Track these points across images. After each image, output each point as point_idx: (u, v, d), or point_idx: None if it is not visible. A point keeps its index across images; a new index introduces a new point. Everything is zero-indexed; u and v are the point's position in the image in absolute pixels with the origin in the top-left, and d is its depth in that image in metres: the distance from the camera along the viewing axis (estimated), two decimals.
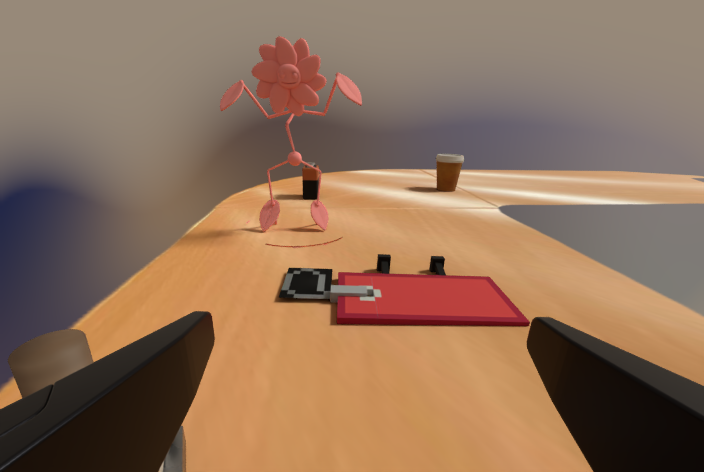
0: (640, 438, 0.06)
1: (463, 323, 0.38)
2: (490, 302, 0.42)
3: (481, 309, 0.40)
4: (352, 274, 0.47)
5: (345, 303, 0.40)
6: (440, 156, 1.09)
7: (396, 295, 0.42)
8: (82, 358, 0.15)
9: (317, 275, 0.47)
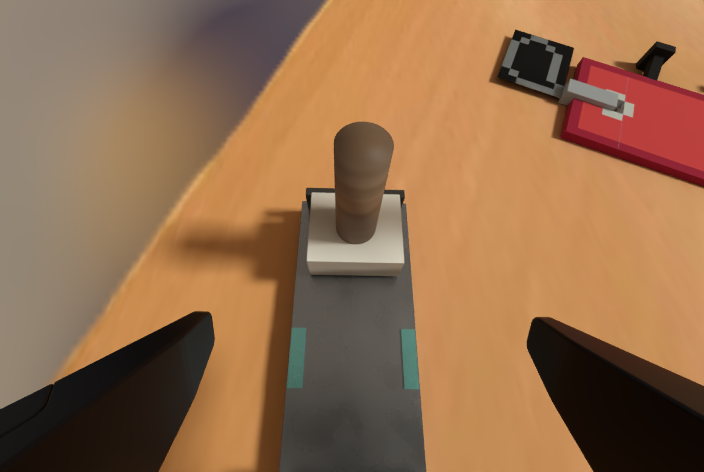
0: (640, 438, 0.06)
1: None
2: None
3: None
4: (602, 66, 0.34)
5: (581, 113, 0.31)
6: None
7: (654, 121, 0.31)
8: (389, 163, 0.14)
9: (551, 53, 0.35)
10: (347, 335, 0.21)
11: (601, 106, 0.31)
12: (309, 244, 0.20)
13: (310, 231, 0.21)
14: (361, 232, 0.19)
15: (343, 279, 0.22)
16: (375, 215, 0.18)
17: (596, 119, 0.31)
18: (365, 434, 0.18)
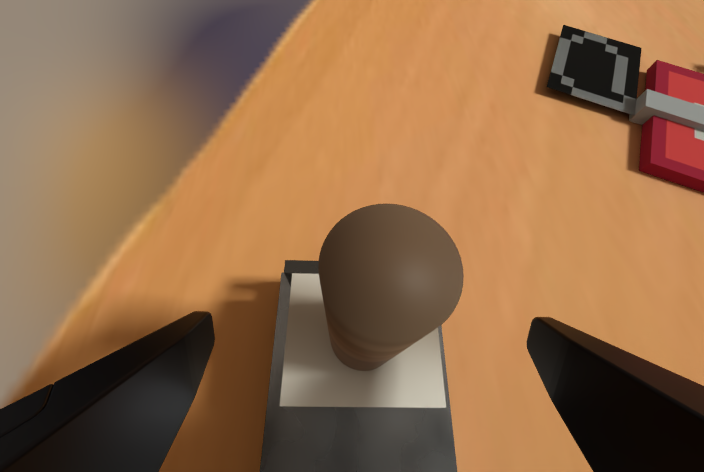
0: (640, 438, 0.06)
1: None
2: None
3: None
4: (683, 72, 0.26)
5: (666, 136, 0.23)
6: None
7: None
8: None
9: (613, 55, 0.27)
10: None
11: (692, 127, 0.23)
12: (285, 372, 0.12)
13: (287, 346, 0.12)
14: (374, 366, 0.11)
15: (342, 409, 0.14)
16: None
17: (688, 145, 0.22)
18: None
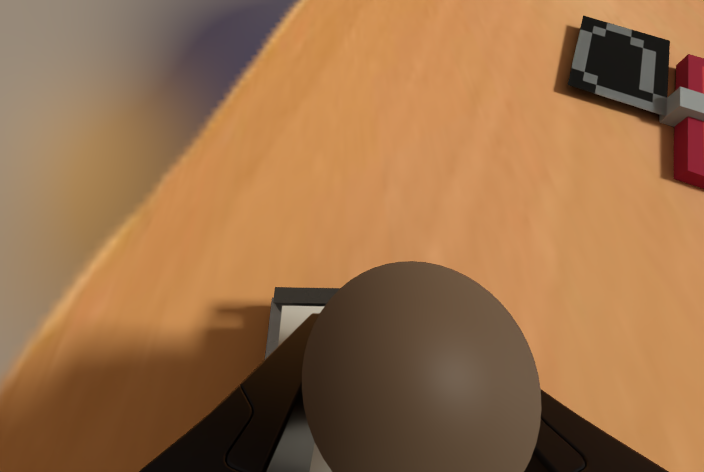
0: None
1: None
2: None
3: None
4: None
5: None
6: None
7: None
8: None
9: (639, 48, 0.24)
10: None
11: None
12: None
13: None
14: None
15: None
16: None
17: None
18: None
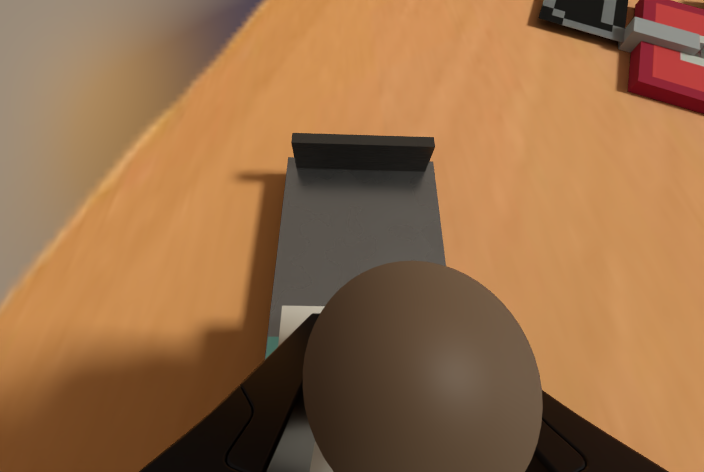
0: None
1: None
2: None
3: None
4: (670, 4, 0.26)
5: (653, 58, 0.23)
6: None
7: None
8: None
9: None
10: None
11: (678, 50, 0.24)
12: None
13: None
14: None
15: (346, 265, 0.15)
16: None
17: (674, 66, 0.23)
18: None
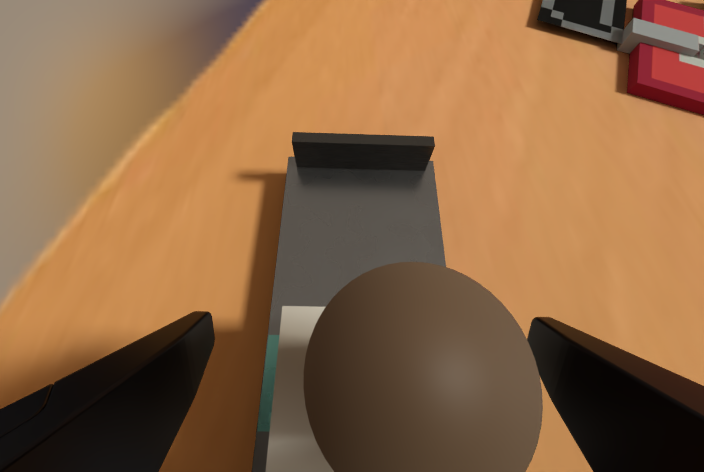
0: (640, 438, 0.06)
1: None
2: None
3: None
4: (668, 5, 0.26)
5: (652, 60, 0.23)
6: None
7: None
8: None
9: None
10: None
11: (677, 51, 0.24)
12: (272, 432, 0.10)
13: (276, 399, 0.10)
14: None
15: (346, 263, 0.15)
16: None
17: (673, 67, 0.23)
18: None
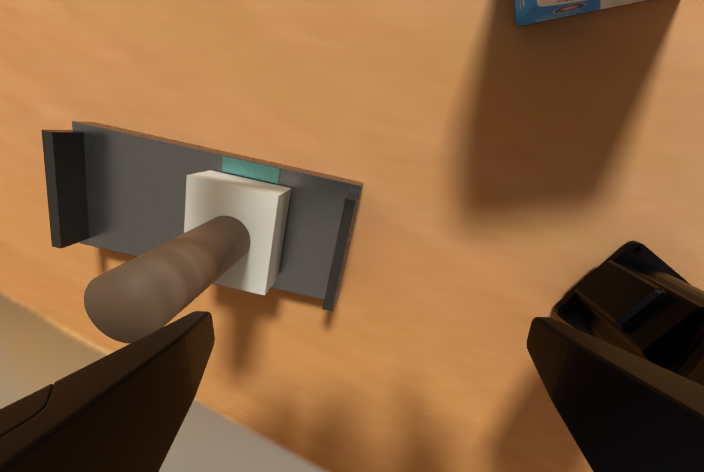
0: (640, 438, 0.06)
1: None
2: None
3: None
4: None
5: None
6: None
7: None
8: (150, 273, 0.11)
9: None
10: None
11: None
12: (246, 289, 0.19)
13: (231, 286, 0.19)
14: (237, 249, 0.16)
15: (168, 217, 0.21)
16: (218, 243, 0.15)
17: None
18: (309, 228, 0.20)
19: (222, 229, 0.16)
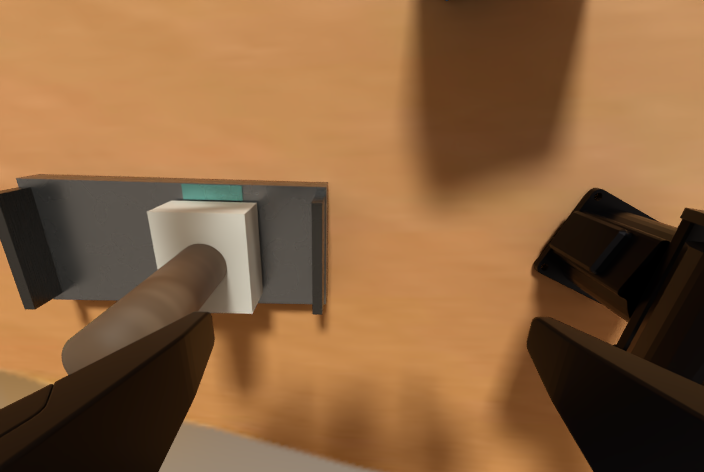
0: (640, 438, 0.06)
1: None
2: None
3: None
4: None
5: None
6: None
7: None
8: (125, 322, 0.11)
9: None
10: None
11: None
12: (232, 311, 0.19)
13: (216, 311, 0.19)
14: (214, 275, 0.16)
15: (139, 255, 0.21)
16: (192, 274, 0.15)
17: None
18: (283, 238, 0.20)
19: (194, 259, 0.16)
